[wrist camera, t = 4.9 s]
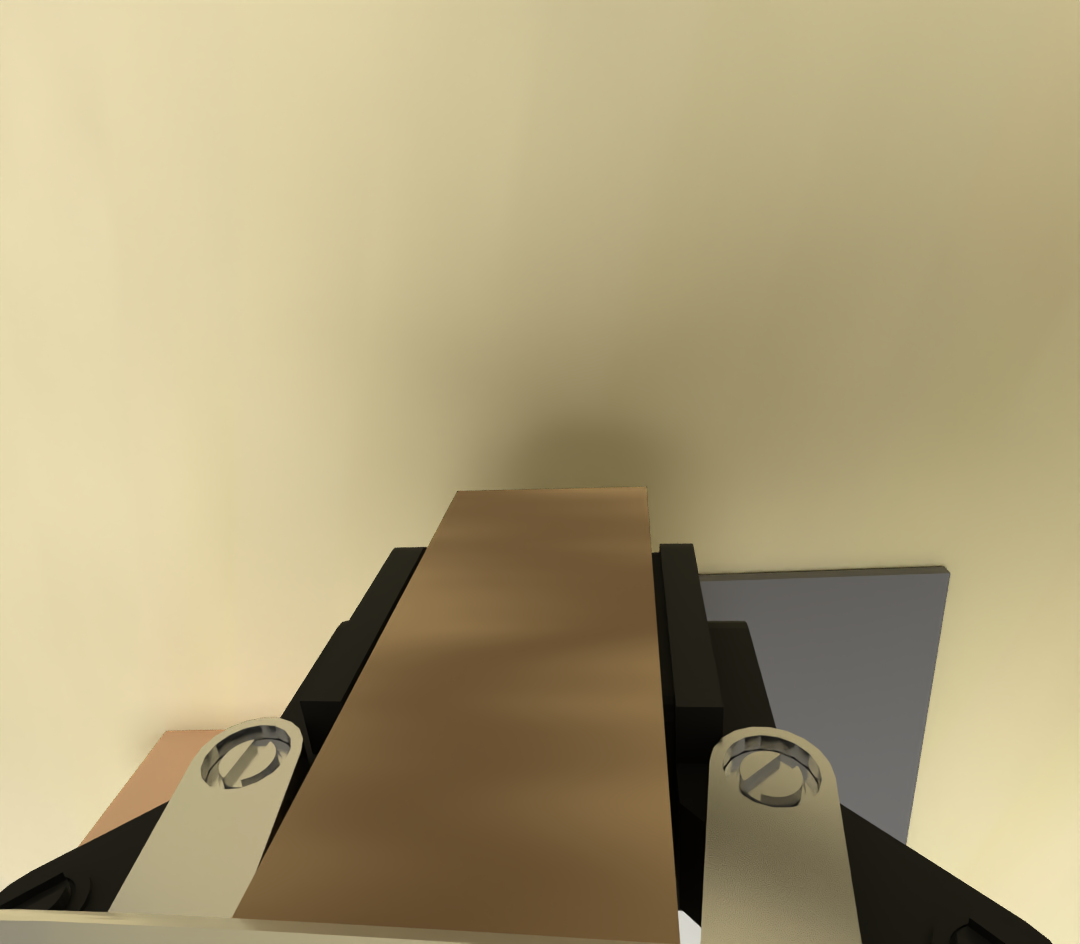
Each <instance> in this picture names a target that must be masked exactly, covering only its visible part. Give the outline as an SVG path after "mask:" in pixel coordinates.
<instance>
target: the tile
mask: <svg viewBox="0 0 1080 944" xmlns="http://www.w3.org/2000/svg"><path fill="white" fill-rule="evenodd" d="M223 731H225V730H188V731H166V732H165V733H164V734H163V736H162V737H161V738H160V740H159V741H158V742H157V744H156V745H155V746H154V748H153V749H152V750H151V752H150V753H149V754H148V756H147V757H146V758H145V759H144V761H143V762H142V763H141V765H140V766H139V767H138V769H137V770H136V771H135V773H134V774H133V775H132V777H131V778H130V779H129V781H128V782H127V783H126V784H125V786H124V787H123V788H122V790H121V791H120V792H119V794H118V795H117V796H116V798H115V799H114V800H113V802H112V803H111V804H110V806H109V807H108V808H107V810H106V811H105V812H104V813H103V815H102V816H101V817H100V819H99V820H98V821H97V823H96V824H95V825H94V827H93V828H92V829H91V831H90V832H89V833H88V835H87V836H86V837H85V838H84V840H83V841H82V842H81V844H80V845H79V846H81V845H83V844H85V843H87V842H89V841H91V840H93V839H95V838H97V837H99V836H101V835H103V834H105V833H107V832H109V831H111V830H113V829H115V828H117V827H118V826H120V825H122V824H124V823H126V822H128V821H130V820H132V819H134V818H136V817H138V816H140V815H142V814H144V813H146V812H148V811H150V810H152V809H154V808H156V807H157V806H159V805H161V804H163V803H165V802H167V801H169V800H170V799H171V797H172V796H173V794H174V792H175V790H176V788H177V787H178V785H179V783H180V781H181V779H182V778H183V776H184V774H185V772H186V770H187V769H188V767H189V765H190V763H191V761H192V760H193V758H194V757H195V756H196V754H197V753H198V752H199V750H200V749H201V748H202V747H203V746H204V745H205V744H206V743H208V742H209V741H210V740H211V739H212V738H213V737H215V736H216V735H218V734H220V733H221V732H223ZM79 846H78V847H79Z"/></svg>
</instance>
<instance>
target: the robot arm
mask: <svg viewBox="0 0 1080 944" xmlns="http://www.w3.org/2000/svg"><path fill="white" fill-rule="evenodd" d="M426 549H427V547H405V548H394V549H393V550H392V552H391V553H390V555H389V557H388V558H387V560H386V562H385V563H384V565H383V566H382V568H381V570H380V571H379V573H378V575H377V576H376V578H375V579H374V581H373V583H372V584H371V586H370V587H369V589H368V591H367V592H366V594H365V596H364V597H363V599H362V600H361V602H360V604H359V605H358V607H357V608H356V610H355V612H354V613H353V615H352V617H351V618H350V620H349V621H345V622H342V623H341V624H340V625H339V626H338V628H337V629H336V631H335V632H334V634H333V635H332V637H331V639H330V640H329V642H328V643H327V645H326V646H325V648H324V650H323V651H322V653H321V654H320V656H319V658H318V659H317V661H316V662H315V664H314V665H313V667H312V669H311V670H310V672H309V673H308V675H307V676H306V678H305V680H304V681H303V683H302V684H301V686H300V687H299V689H298V691H297V692H296V694H295V695H294V697H293V698H292V700H291V702H290V703H289V705H288V706H287V708H286V710H285V711H284V713H283V714H282V716H281V717H280V718H259V719H254V720H249V721H245V722H243V723H240V724H237V725H235V726H232V727H230V728H228V729H227V730H225V731H223V732H221V733H220V734H218V735H216V736H215V737H213V738H212V739H211V740H210V741H209V742H208V743H206V744H205V745H204V746H203V747H202V748H201V749H200V750H199V752H198V753H197V754H196V756H195V757H194V758H193V760H192V761H191V763H190V765H189V767H188V769H187V770H186V772H185V774H184V776H183V778H182V779H181V781H180V783H179V785H178V787H177V788H176V790H175V792H174V794H173V796H172V797H171V799H170V800H169V801H167V802H165V803H163V804H161V805H159V806H157V807H156V808H154V809H152V810H150V811H148V812H146V813H144V814H142V815H140V816H138V817H136V818H134V819H132V820H130V821H128V822H126V823H124V824H122V825H120V826H118V827H117V828H115V829H113V830H111V831H109V832H107V833H105V834H103V835H101V836H99V837H97V838H95V839H93V840H91V841H89V842H87V843H85V844H83V845H81V846H79V847H78V848H76V849H74V850H72V851H70V852H68V853H66V854H64V855H62V856H60V857H58V858H56V859H54V860H52V861H50V862H48V863H46V864H44V865H42V866H41V867H39V868H37V869H35V870H33V871H31V872H29V873H28V874H26V875H24V876H23V877H21V878H19V879H18V880H16V881H15V882H13V883H11V884H10V885H9V886H7V887H6V888H5V889H4V890H3V891H1V892H0V944H665V943H650V942H634V941H618V940H603V939H587V938H571V937H556V936H540V935H523V934H506V933H489V932H472V931H455V930H438V929H421V928H404V927H386V926H368V925H351V924H333V923H315V922H297V921H278V920H258V919H239V918H232V916H233V914H234V912H235V910H236V909H237V907H238V905H239V903H240V901H241V899H242V897H243V895H244V893H245V892H246V890H247V888H248V886H249V884H250V882H251V880H252V878H253V876H254V875H255V873H256V871H257V869H258V867H259V865H260V863H261V861H262V859H263V858H264V856H265V854H266V852H267V850H268V848H269V846H270V844H271V842H272V841H273V839H274V837H275V835H276V833H277V831H278V829H279V827H280V825H281V823H282V822H283V820H284V818H285V816H286V814H287V812H288V810H289V808H290V806H291V805H292V803H293V801H294V799H295V797H296V795H297V793H298V791H299V789H300V788H301V786H302V784H303V782H304V780H305V778H306V776H307V774H308V772H309V771H310V769H311V767H312V765H313V763H314V761H315V759H316V757H317V755H318V754H319V752H320V750H321V748H322V746H323V744H324V742H325V740H326V738H327V737H328V735H329V733H330V731H331V729H332V727H333V725H334V723H335V721H336V719H337V718H338V716H339V714H340V712H341V710H342V708H343V706H344V704H345V702H346V701H347V699H348V697H349V695H350V693H351V691H352V689H353V687H354V685H355V684H356V682H357V680H358V678H359V676H360V674H361V672H362V670H363V668H364V667H365V665H366V663H367V661H368V659H369V657H370V655H371V653H372V651H373V650H374V648H375V646H376V644H377V642H378V640H379V638H380V636H381V634H382V633H383V631H384V629H385V627H386V625H387V623H388V621H389V619H390V617H391V615H392V614H393V612H394V610H395V608H396V606H397V604H398V602H399V600H400V598H401V597H402V595H403V593H404V591H405V589H406V587H407V585H408V583H409V581H410V580H411V578H412V576H413V574H414V572H415V570H416V568H417V566H418V564H419V563H420V561H421V559H422V557H423V555H424V553H425V551H426ZM652 566H653V580H654V593H655V607H656V621H657V634H658V648H659V661H660V675H661V688H662V702H663V715H664V729H665V742H666V756H667V770H668V783H669V797H670V810H671V824H672V837H673V851H674V864H675V878H676V891H677V905H678V911H683V912H685V913H686V914H687V915H688V916H689V917H690V918H691V919H692V920H693V921H694V922H695V923H696V924H698V925H699V926H700V927H701V943H700V944H1052V943H1051V941H1050V940H1049V939H1047V938H1046V937H1045V936H1044V935H1042V934H1041V933H1040V932H1038V931H1037V930H1036V929H1034V928H1033V927H1032V926H1031V925H1029V924H1028V923H1027V922H1025V921H1024V920H1022V919H1021V918H1019V917H1018V916H1016V915H1014V914H1013V913H1011V912H1010V911H1008V910H1007V909H1005V908H1003V907H1002V906H1000V905H999V904H997V903H996V902H994V901H993V900H991V899H989V898H988V897H986V896H985V895H983V894H982V893H980V892H978V891H977V890H975V889H974V888H972V887H971V886H969V885H967V884H966V883H964V882H963V881H961V880H960V879H958V878H956V877H955V876H953V875H952V874H950V873H949V872H947V871H946V870H944V869H942V868H941V867H939V866H938V865H936V864H935V863H933V862H931V861H930V860H928V859H927V858H925V857H924V856H922V855H920V854H919V853H917V852H916V851H914V850H913V849H911V848H909V847H908V846H906V845H905V844H903V843H902V842H900V841H898V840H897V839H895V838H894V837H892V836H891V835H889V834H888V833H886V832H884V831H883V830H881V829H880V828H878V827H877V826H875V825H873V824H872V823H870V822H869V821H867V820H866V819H864V818H862V817H861V816H859V815H858V814H856V813H855V812H853V811H851V810H850V809H848V808H847V807H845V806H844V805H842V804H841V803H840V802H839V796H838V790H837V783H836V777H835V775H834V772H833V769H832V767H831V764H830V762H829V761H828V760H827V758H826V757H825V756H824V755H823V754H822V752H821V751H820V750H819V749H818V748H816V747H815V746H814V745H812V744H811V743H810V742H808V741H807V740H806V739H804V738H802V737H799V736H797V735H795V734H793V733H790V732H788V731H784V730H780V729H776V725H775V722H774V718H773V714H772V711H771V707H770V703H769V700H768V696H767V693H766V689H765V685H764V682H763V678H762V675H761V671H760V667H759V664H758V660H757V656H756V653H755V649H754V646H753V642H752V638H751V635H750V631H749V628H748V625H747V622H745V621H707V617H706V611H705V606H704V601H703V595H702V590H701V585H700V579H699V574H698V569H697V563H696V558H695V553H694V547H693V544H660V552H658V553H652Z"/></svg>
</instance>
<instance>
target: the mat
mask: <svg viewBox="0 0 1080 944" xmlns="http://www.w3.org/2000/svg"><path fill="white" fill-rule="evenodd" d="M949 578H950V572H949V571H948V570H947V569H946V568H945V567H921V568H892V569H863V570H835V571H806V572H777V573H748V574H720V575H699V579H700V585H701V590H702V595H703V601H704V606H705V611H706V617H707V621H745V622H747V625H748V628H749V631H750V635H751V638H752V642H753V646H754V649H755V653H756V656H757V660H758V664H759V667H760V671H761V675H762V678H763V682H764V685H765V689H766V693H767V696H768V700H769V703H770V707H771V711H772V714H773V718H774V722H775V725H776V729H780V730H784V731H788V732H790V733H793V734H795V735H797V736H799V737H802V738H804V739H806V740H807V741H808V742H810V743H811V744H812V745H814V746H815V747H816V748H818V749H819V750H820V751H821V752H822V754H823V755H824V756H825V757H826V758H827V760H828V761H829V762H830V764H831V767H832V769H833V772H834V775H835V777H836V783H837V790H838V796H839V802H840V803H841V804H842V805H844V806H845V807H847V808H848V809H850V810H851V811H853V812H855V813H856V814H858V815H859V816H861V817H862V818H864V819H866V820H867V821H869V822H870V823H872V824H873V825H875V826H877V827H878V828H880V829H881V830H883V831H884V832H886V833H888V834H889V835H891V836H892V837H894V838H895V839H897V840H898V841H900V842H902V843H903V844H905V845H906V842H907V836H908V829H909V823H910V817H911V811H912V805H913V799H914V793H915V787H916V780H917V774H918V768H919V762H920V756H921V750H922V744H923V738H924V731H925V725H926V719H927V713H928V707H929V701H930V695H931V689H932V683H933V676H934V670H935V664H936V658H937V652H938V646H939V640H940V634H941V627H942V621H943V615H944V609H945V603H946V597H947V591H948V585H949Z"/></svg>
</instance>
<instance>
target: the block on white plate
mask: <svg viewBox="0 0 1080 944" xmlns="http://www.w3.org/2000/svg"><path fill="white" fill-rule="evenodd" d="M232 918H239V919H258V920H278V921H297V922H315V923H333V924H351V925H368V926H386V927H404V928H421V929H438V930H455V931H472V932H489V933H506V934H523V935H540V936H556V937H571V938H587V939H603V940H618V941H634V942H650V943H665V944H700V943H701V927H700V926H699V925H698V924H696V923H695V922H694V921H693V920H692V919H691V918H690V917H689V916H688V915H687V914H686V913H685V912H683V911H678V905H677V891H676V878H675V864H674V851H673V837H672V824H671V810H670V797H669V783H668V770H667V756H666V742H665V729H664V715H663V702H662V688H661V675H660V661H659V648H658V634H657V621H656V607H655V593H654V580H653V566H652V553H651V539H650V526H649V512H648V499H647V487H609V488H567V489H525V490H482V491H457V493H456V494H455V496H454V498H453V500H452V502H451V504H450V506H449V508H448V510H447V511H446V513H445V515H444V517H443V519H442V521H441V523H440V525H439V527H438V529H437V530H436V532H435V534H434V536H433V538H432V540H431V542H430V544H429V546H428V547H427V549H426V551H425V553H424V555H423V557H422V559H421V561H420V563H419V564H418V566H417V568H416V570H415V572H414V574H413V576H412V578H411V580H410V581H409V583H408V585H407V587H406V589H405V591H404V593H403V595H402V597H401V598H400V600H399V602H398V604H397V606H396V608H395V610H394V612H393V614H392V615H391V617H390V619H389V621H388V623H387V625H386V627H385V629H384V631H383V633H382V634H381V636H380V638H379V640H378V642H377V644H376V646H375V648H374V650H373V651H372V653H371V655H370V657H369V659H368V661H367V663H366V665H365V667H364V668H363V670H362V672H361V674H360V676H359V678H358V680H357V682H356V684H355V685H354V687H353V689H352V691H351V693H350V695H349V697H348V699H347V701H346V702H345V704H344V706H343V708H342V710H341V712H340V714H339V716H338V718H337V719H336V721H335V723H334V725H333V727H332V729H331V731H330V733H329V735H328V737H327V738H326V740H325V742H324V744H323V746H322V748H321V750H320V752H319V754H318V755H317V757H316V759H315V761H314V763H313V765H312V767H311V769H310V771H309V772H308V774H307V776H306V778H305V780H304V782H303V784H302V786H301V788H300V789H299V791H298V793H297V795H296V797H295V799H294V801H293V803H292V805H291V806H290V808H289V810H288V812H287V814H286V816H285V818H284V820H283V822H282V823H281V825H280V827H279V829H278V831H277V833H276V835H275V837H274V839H273V841H272V842H271V844H270V846H269V848H268V850H267V852H266V854H265V856H264V858H263V859H262V861H261V863H260V865H259V867H258V869H257V871H256V873H255V875H254V876H253V878H252V880H251V882H250V884H249V886H248V888H247V890H246V892H245V893H244V895H243V897H242V899H241V901H240V903H239V905H238V907H237V909H236V910H235V912H234V914H233V916H232Z"/></svg>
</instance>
